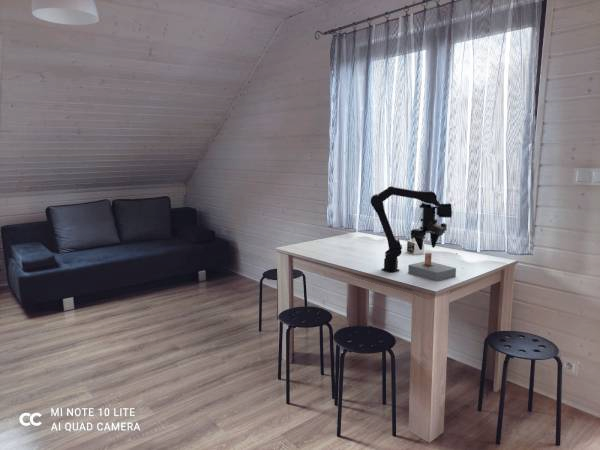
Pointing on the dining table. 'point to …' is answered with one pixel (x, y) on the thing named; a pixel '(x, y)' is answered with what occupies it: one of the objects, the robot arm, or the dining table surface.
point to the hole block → (432, 271)
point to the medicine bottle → (414, 247)
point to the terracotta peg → (428, 259)
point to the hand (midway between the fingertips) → (427, 248)
